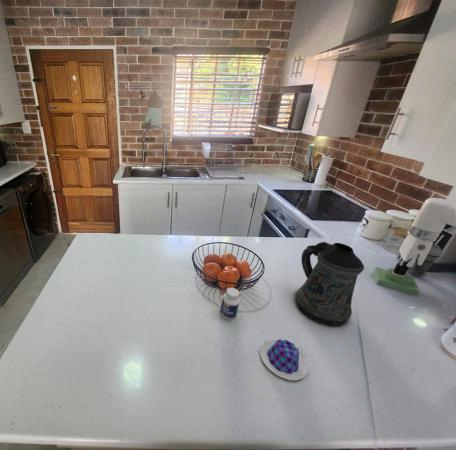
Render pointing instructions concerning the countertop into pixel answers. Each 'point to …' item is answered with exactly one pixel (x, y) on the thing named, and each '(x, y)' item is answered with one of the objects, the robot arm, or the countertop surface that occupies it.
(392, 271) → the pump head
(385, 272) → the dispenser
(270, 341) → the pudding
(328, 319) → the beer stein
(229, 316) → the pill bottle
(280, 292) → the countertop surface
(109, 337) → the countertop surface
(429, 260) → the beverage cup
